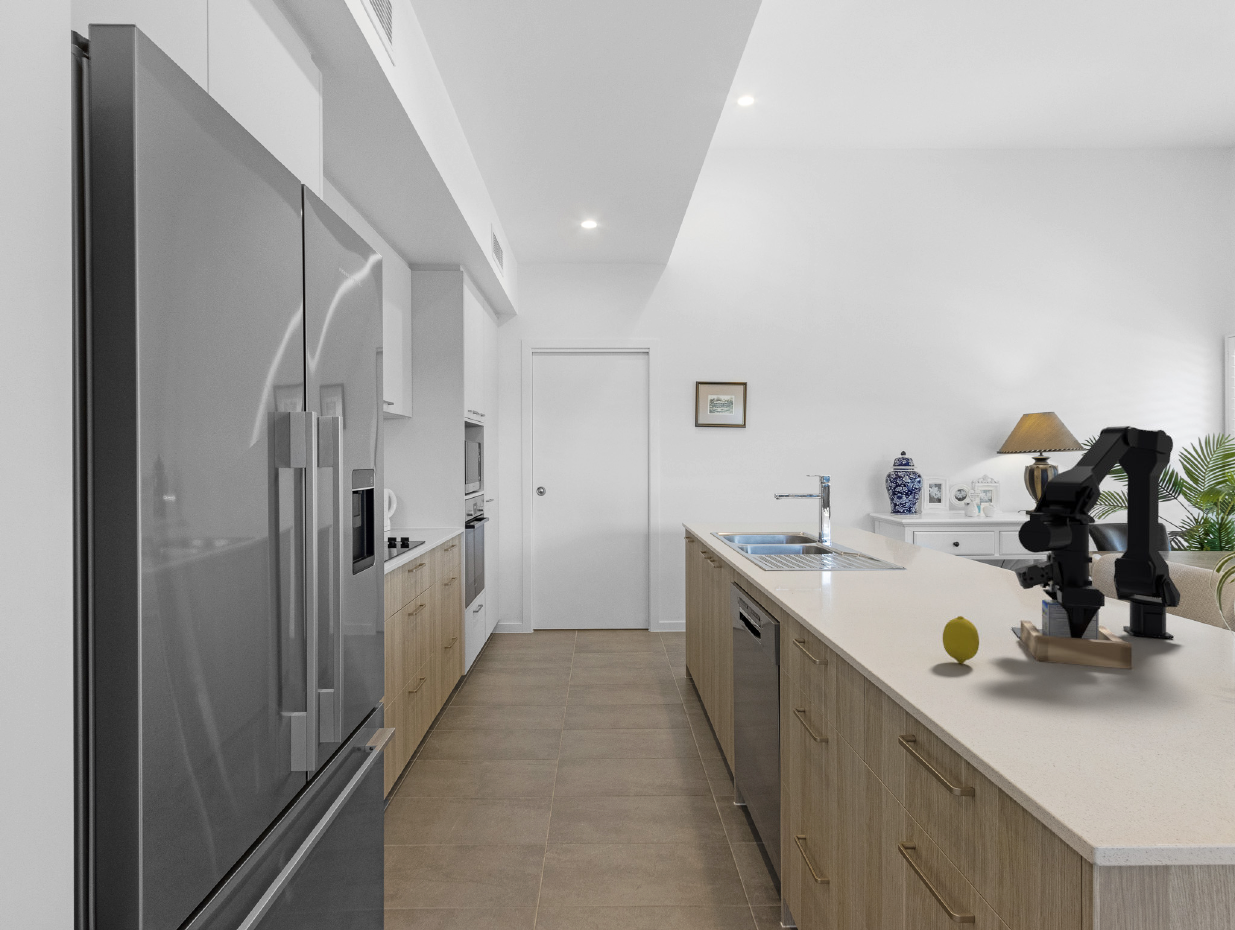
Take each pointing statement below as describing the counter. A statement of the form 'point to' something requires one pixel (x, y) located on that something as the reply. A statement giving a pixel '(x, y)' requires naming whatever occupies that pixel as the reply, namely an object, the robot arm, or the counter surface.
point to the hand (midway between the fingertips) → (1069, 636)
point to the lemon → (960, 639)
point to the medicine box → (1064, 622)
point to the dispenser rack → (1078, 648)
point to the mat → (1018, 631)
